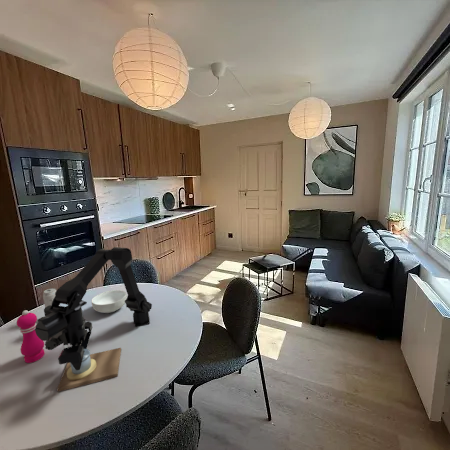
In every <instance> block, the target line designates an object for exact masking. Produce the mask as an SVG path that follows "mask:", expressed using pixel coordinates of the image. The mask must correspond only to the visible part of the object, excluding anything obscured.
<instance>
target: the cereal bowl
mask: <svg viewBox="0 0 450 450" xmlns="http://www.w3.org/2000/svg"><path fill="white" fill-rule="evenodd" d="M127 296H128V294H127V291H124V290H120V289H115V290H108V291H104V292H102V293H101V292H100V293H98V294H97V295H95V296H94V297H93V298H91V305H92V308H93V310H95V311H96V312H97V313H105V314H109V313H114V312H115V311H117V310H119V309H121V308H122V307H124V305H126V303H125V300H126V299H127Z"/></svg>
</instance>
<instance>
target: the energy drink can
mask: <svg viewBox="0 0 450 450" xmlns="http://www.w3.org/2000/svg"><path fill="white" fill-rule="evenodd" d="M56 291H57V288H48V289H46V290H44V291H43V294H42V299H43V304H44V309H45V308H46V307H47V306H49V305H51V304H52V302H53V300H54V297H55V293H56Z"/></svg>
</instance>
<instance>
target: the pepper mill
mask: <svg viewBox="0 0 450 450" xmlns="http://www.w3.org/2000/svg"><path fill="white" fill-rule="evenodd" d="M37 322H38V316H37V315H36V313H34V312H29V311H28V310H23V311H22V314H21V315H19V317H18V318H17V319H16V325H17V327H18V328H19V330H20V333H21V334H22V343H21V345H20V353H21V355H22V356H23V359H24V362H25V363H26V364H32V363H35V362H37V361H39V360H41V359H42V358H44V356H45V354H46V353H45V341H43V340H41V339H40V338H39V337H38V336H37V334H36V332H35V328H36V325H37V324H38V323H37Z"/></svg>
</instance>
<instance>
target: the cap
mask: <svg viewBox="0 0 450 450" xmlns="http://www.w3.org/2000/svg"><path fill="white" fill-rule="evenodd" d="M84 351H85V352H84V356H83V360H82V364H81V368H80V370H76V369H75V368H74V367H73V365H72V364H71V363H70V365H71V370H72V373H73V374H81V373H83V372H85V371H87V370H88V369H89V368H90V367H91V359H90V354H91V351H90V350H89V349H88V348H87V349H84Z"/></svg>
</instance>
